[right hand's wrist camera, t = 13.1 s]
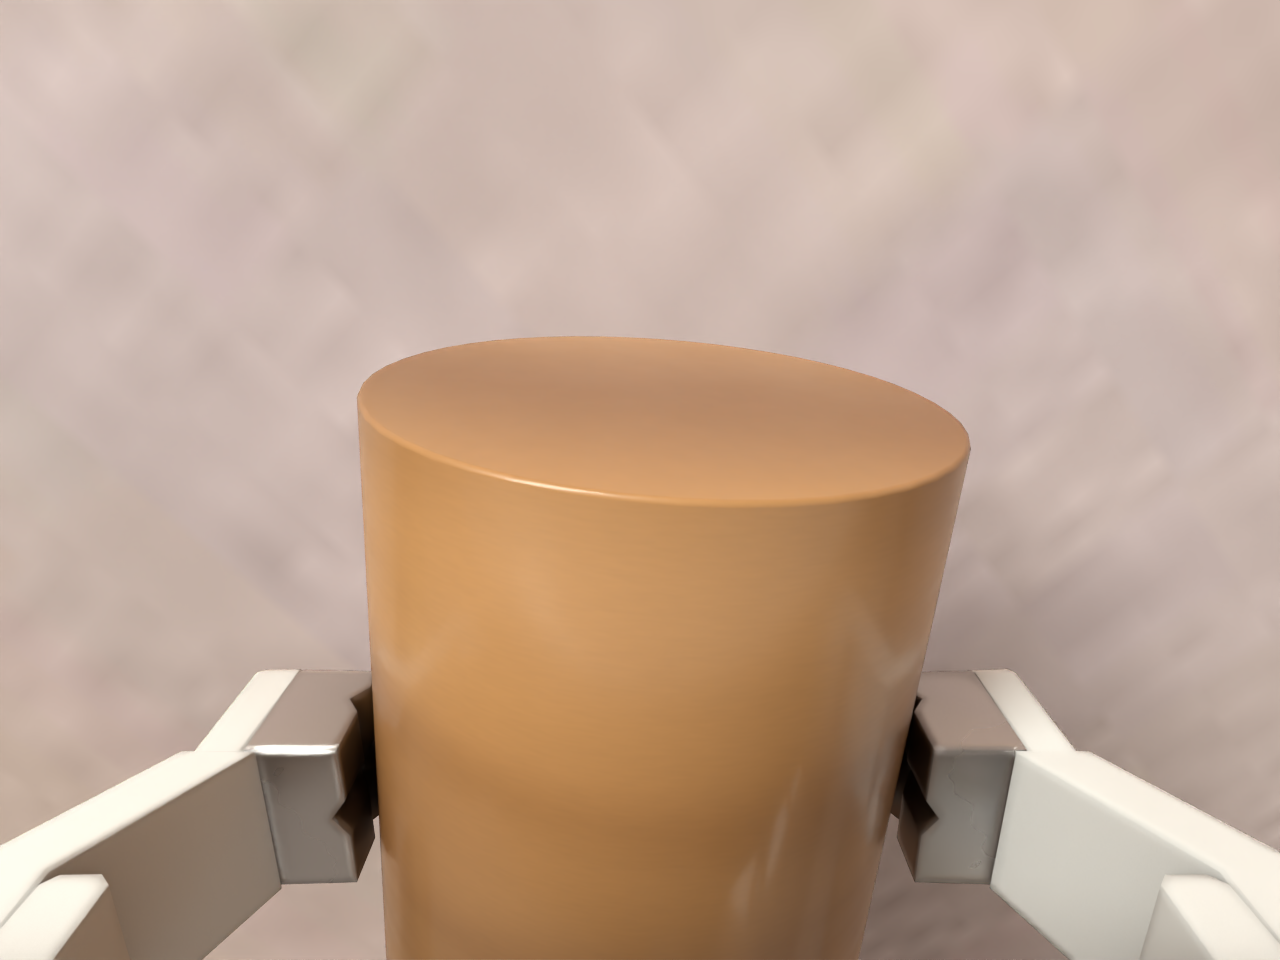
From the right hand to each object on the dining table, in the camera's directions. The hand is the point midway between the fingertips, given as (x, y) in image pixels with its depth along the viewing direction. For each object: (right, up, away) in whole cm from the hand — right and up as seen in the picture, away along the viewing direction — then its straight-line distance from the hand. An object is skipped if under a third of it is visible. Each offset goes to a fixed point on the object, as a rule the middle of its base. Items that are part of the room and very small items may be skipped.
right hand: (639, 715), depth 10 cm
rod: (0, -6, +5) cm, 8 cm away
